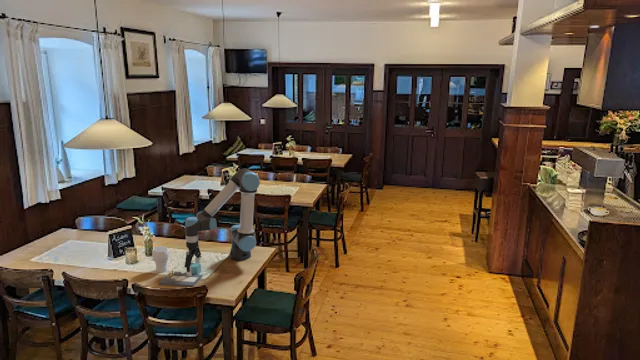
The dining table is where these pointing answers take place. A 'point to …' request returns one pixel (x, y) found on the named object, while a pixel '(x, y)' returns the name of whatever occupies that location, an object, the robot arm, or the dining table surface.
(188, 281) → the header board
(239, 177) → the robot arm
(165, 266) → the cup
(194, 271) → the plug block
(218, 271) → the dining table surface
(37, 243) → the dining table surface
